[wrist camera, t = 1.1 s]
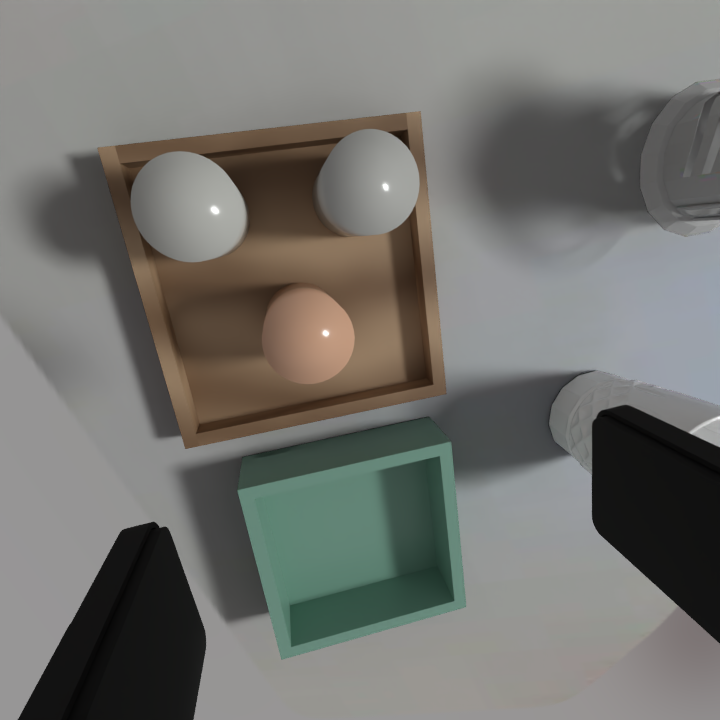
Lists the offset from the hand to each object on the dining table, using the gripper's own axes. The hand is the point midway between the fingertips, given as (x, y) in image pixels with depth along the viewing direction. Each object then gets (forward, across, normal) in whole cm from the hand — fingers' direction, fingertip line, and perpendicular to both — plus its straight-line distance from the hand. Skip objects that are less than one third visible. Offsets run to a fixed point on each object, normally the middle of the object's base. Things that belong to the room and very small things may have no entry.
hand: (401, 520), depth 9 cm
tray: (+19, +1, -3) cm, 19 cm away
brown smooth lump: (+18, +1, -1) cm, 18 cm away
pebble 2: (+18, -3, -8) cm, 20 cm away
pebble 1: (+18, +5, -8) cm, 21 cm away
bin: (+19, 0, +14) cm, 23 cm away
